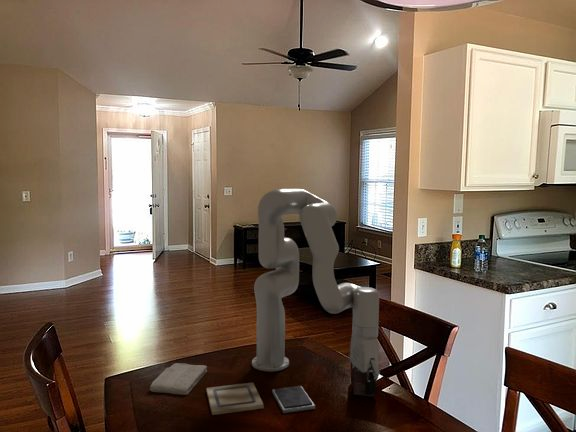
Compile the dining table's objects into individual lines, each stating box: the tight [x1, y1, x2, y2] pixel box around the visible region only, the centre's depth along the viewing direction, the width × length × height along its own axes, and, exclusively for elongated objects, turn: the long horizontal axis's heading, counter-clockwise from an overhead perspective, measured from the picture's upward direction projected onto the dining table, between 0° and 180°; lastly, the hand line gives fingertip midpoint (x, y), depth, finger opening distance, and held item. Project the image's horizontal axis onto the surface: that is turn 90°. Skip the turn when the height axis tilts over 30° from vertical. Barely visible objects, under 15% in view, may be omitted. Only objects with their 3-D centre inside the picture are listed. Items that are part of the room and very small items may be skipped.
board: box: [206, 382, 265, 416], centre depth 128 cm, size 14×14×1 cm
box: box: [353, 366, 375, 397], centre depth 134 cm, size 6×6×7 cm
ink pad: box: [271, 385, 316, 414], centre depth 128 cm, size 12×9×1 cm
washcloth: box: [149, 362, 208, 396], centre depth 139 cm, size 12×18×3 cm, turn 171°
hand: (363, 387), depth 134 cm, fingers closed on box, 8 cm apart
